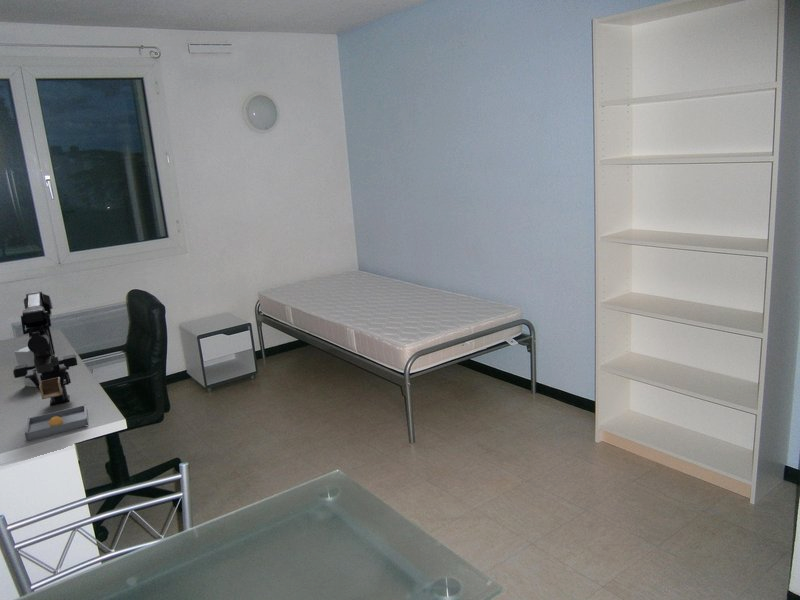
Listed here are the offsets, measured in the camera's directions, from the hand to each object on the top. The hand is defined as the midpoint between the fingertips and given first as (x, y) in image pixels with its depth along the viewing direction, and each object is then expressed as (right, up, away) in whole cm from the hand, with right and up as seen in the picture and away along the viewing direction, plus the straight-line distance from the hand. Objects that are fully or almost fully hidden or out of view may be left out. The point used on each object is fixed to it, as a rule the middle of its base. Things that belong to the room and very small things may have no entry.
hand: (51, 389), depth 210 cm
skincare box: (-30, -4, +43) cm, 53 cm away
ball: (+5, -10, -7) cm, 13 cm away
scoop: (0, -2, 0) cm, 2 cm away
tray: (+4, -12, -2) cm, 12 cm away
